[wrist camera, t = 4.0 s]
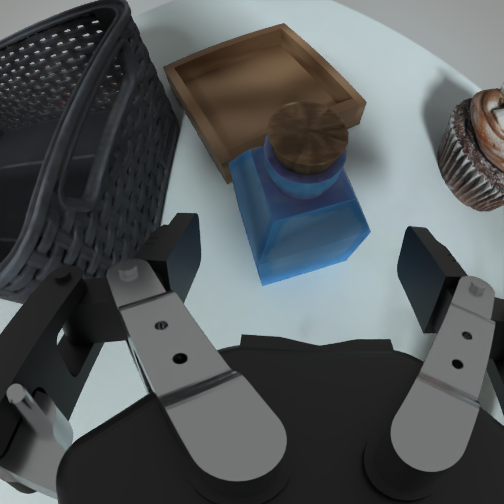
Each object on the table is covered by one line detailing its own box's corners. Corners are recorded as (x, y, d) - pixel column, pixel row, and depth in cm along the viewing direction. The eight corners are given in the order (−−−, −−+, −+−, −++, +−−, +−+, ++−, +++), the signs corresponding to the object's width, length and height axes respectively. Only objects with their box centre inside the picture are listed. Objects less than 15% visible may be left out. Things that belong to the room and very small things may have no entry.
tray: (171, 88, 28) (163, 67, 25) (283, 44, 29) (283, 23, 26) (227, 184, 24) (221, 164, 22) (359, 124, 25) (366, 102, 23)
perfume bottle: (262, 285, 22) (252, 224, 11) (238, 205, 24) (211, 94, 12) (346, 260, 22) (411, 181, 11) (317, 184, 24) (346, 68, 13)
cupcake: (438, 113, 26) (479, 42, 16) (512, 162, 24) (566, 109, 14) (418, 185, 24) (475, 112, 14) (503, 240, 22) (577, 196, 12)
